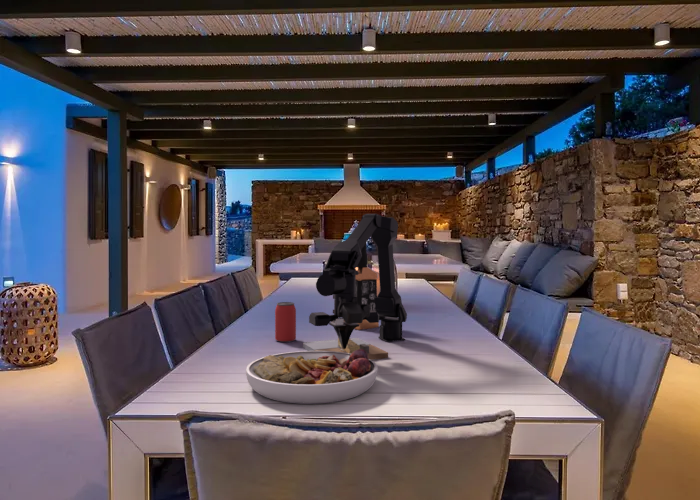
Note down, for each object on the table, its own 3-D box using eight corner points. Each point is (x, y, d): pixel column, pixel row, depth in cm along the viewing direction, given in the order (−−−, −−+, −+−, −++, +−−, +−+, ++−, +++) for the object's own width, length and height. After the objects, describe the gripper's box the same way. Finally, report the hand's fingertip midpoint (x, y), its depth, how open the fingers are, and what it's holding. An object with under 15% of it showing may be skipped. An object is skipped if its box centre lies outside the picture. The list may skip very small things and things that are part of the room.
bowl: (265, 417, 104) (264, 377, 103) (234, 377, 131) (234, 345, 131) (400, 398, 116) (401, 362, 115) (346, 364, 143) (346, 335, 143)
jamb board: (357, 342, 169) (357, 337, 169) (373, 350, 158) (373, 345, 158) (303, 347, 162) (302, 341, 162) (316, 356, 151) (316, 350, 151)
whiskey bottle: (380, 327, 194) (380, 239, 192) (358, 330, 188) (358, 239, 187) (363, 322, 202) (363, 238, 201) (341, 325, 197) (342, 238, 195)
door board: (371, 349, 159) (371, 338, 159) (388, 357, 149) (388, 345, 149) (314, 355, 152) (314, 343, 152) (327, 364, 142) (327, 351, 142)
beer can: (292, 343, 168) (292, 305, 167) (272, 342, 169) (272, 304, 169) (298, 338, 174) (298, 302, 174) (279, 337, 176) (279, 301, 175)
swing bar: (336, 344, 157) (336, 335, 157) (347, 343, 158) (347, 334, 158) (348, 354, 145) (348, 344, 145) (360, 353, 146) (360, 343, 146)
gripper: (322, 297, 135) (321, 358, 136) (388, 294, 142) (387, 352, 143) (308, 292, 145) (308, 348, 146) (371, 289, 153) (370, 343, 153)
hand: (343, 348), depth 147 cm, fingers closed
